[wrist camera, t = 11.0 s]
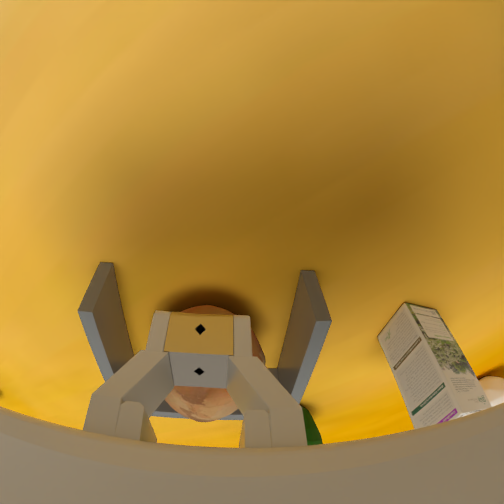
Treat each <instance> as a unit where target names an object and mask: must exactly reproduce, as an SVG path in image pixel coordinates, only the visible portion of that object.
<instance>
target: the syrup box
mask: <svg viewBox="0 0 504 504" xmlns="http://www.w3.org/2000/svg"><path fill="white" fill-rule="evenodd" d="M378 340H379V342H380V345H381V347H382V349H383V351H384V354H385V356H386V358H387V360H388V363H389V365H390V367H391V370H392V372H393V374H394V377H395V379H396V382H397V384H398V387H399V389H400V392H401V394H402V397H403V399H404V402H405V404H406V407H407V410H408V412H409V415H410V418H411V420H412V423H413V426H414V428H415V429H418V428H422V427H427V426H431V425H434V424H438V423H442V422H446V421H449V420H453V419H456V418H460V417H463V416H466V415H469V414H472V413H476V412H479V411H482V410H484V409H487V408H490V407H492V406H491V404H490V402H489V400H488V398H487V396H486V394H485V392H484V390H483V388H482V387H481V385H480V383H479V381H478V379H477V377H476V375H475V374H474V372H473V370H472V368H471V366H470V365H469V363H468V361H467V359H466V358H465V356H464V354H463V352H462V351H461V349H460V347H459V346H458V344H457V342H456V340H455V339H454V337H453V335H452V334H451V332H450V330H449V329H448V327H447V326H446V324H445V323H444V321H443V319H442V318H441V316H440V315H439V313H438V311H437V310H435V309H431V308H426V307H422V306H417V305H413V304H409V303H404V304H403V305H402V306H401V307H400V308H399V310H398V311H397V312H396V313H395V314H394V316H393V317H392V318H391V320H390V321H389V322H388V324H387V325H386V326H385V328H384V329H383V330H382V331H381V333H380V334H379V335H378Z"/></svg>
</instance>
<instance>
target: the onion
mask: <svg viewBox="0 0 504 504" xmlns="http://www.w3.org/2000/svg"><path fill="white" fill-rule="evenodd" d="M181 312H182V313H194V314H218V315H233V316H234V315H235V314H233V313H231V312H230V311H228V310H226V309H223V308H219V307H215V306H211V305H203V306H195V307H192V308H188V309H186V310H183V311H181ZM251 339H252V356H254V357H258V358H259V359H260V360H261V362H262V363H263V364H264V365H265V356H264V353H263V351H262V349H261V346H260V344H259V342H258V340H257V338H256V336H255V334H254V332H253V330H252V329H251ZM165 401H166V402H167V403H168V404H169V405H170V406H171V407H172V408H173V409H174V410H175V411H176V412H178V413H179V414H181V415H182V416H184V417H187V418H190V419H193V420H195V421H198V422H210V421H215V420H218V419H221V418H223V417H226V416H228V415H230V414H232V413H233V412H234V411H236V410H237V409H239V408H238V407H237V405H236V404H235V402H234V401H233V399H232V398H231V396H230V395H229V393H228V392H227V390H226V389H224V388H209V387H192V386H174V388H173V389H172V391H171V392H170V393H169V394H168V395H167V397H166V398H165Z"/></svg>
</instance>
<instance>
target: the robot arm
mask: <svg viewBox="0 0 504 504" xmlns="http://www.w3.org/2000/svg"><path fill="white" fill-rule="evenodd" d="M174 386H192V387H209V388H224V389H226V390H227V392H228V393H229V395H230V396H231V398H232V399H233V401H234V402H235V404H236V405H237V407H238V408H239V410H240V411H241V413H242V414H243V416H244V419H243V424H242V430H241V435H240V441H239V448H220V447H199V446H185V445H173V444H163V443H157V438H156V435H155V433H154V430H153V428H152V426H151V423H150V420H149V418H150V416H151V415H152V414H153V413H154V411H155V410H156V409H157V408H158V407H159V405H160V404H161V403H162V402H163V400H164V399H165V398H166V397H167V395H168V394H169V393H170V392H171V391H172V389H173V388H174ZM0 504H504V403H501V404H499V405H496V406H493V407H490V408H487V409H484V410H482V411H479V412H476V413H472V414H469V415H466V416H463V417H460V418H456V419H453V420H449V421H446V422H442V423H438V424H434V425H431V426H427V427H422V428H418V429H414V430H409V431H405V432H400V433H395V434H390V435H385V436H379V437H373V438H367V439H361V440H354V441H346V442H338V443H329V444H319V445H307V438H306V431H305V424H304V418H303V411H302V407H301V406H300V405H299V404H298V403H297V402H296V400H295V399H294V398H293V397H292V396H291V395H290V394H289V393H288V391H287V390H286V389H285V388H284V387H283V386H282V385H281V384H280V382H279V381H278V380H277V379H276V378H275V377H274V376H273V374H272V373H271V372H270V371H269V370H268V369H267V367H266V366H265V365H264V364H263V363H262V362H261V360H260V359H259V358H258V357H254V356H252V339H251V321H250V316H248V315H234V316H233V315H218V314H194V313H182V312H168V311H158V310H156V311H155V313H154V315H153V319H152V323H151V328H150V332H149V337H148V341H147V345H146V350H140V351H139V352H138V353H137V354H136V355H135V356H134V357H133V358H131V359H130V360H129V361H128V362H127V363H126V364H125V365H124V366H123V367H121V368H120V369H119V370H118V371H117V372H116V373H115V374H114V375H113V376H111V377H110V378H109V379H108V380H107V381H106V382H105V383H104V384H103V385H101V386H100V387H99V388H98V389H97V390H96V391H95V392H94V393H93V394H92V396H91V400H90V404H89V408H88V411H87V415H86V419H85V423H84V427H83V430H79V429H75V428H70V427H66V426H62V425H58V424H55V423H51V422H47V421H44V420H40V419H37V418H34V417H30V416H27V415H24V414H21V413H18V412H15V411H12V410H9V409H6V408H3V407H0Z"/></svg>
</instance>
